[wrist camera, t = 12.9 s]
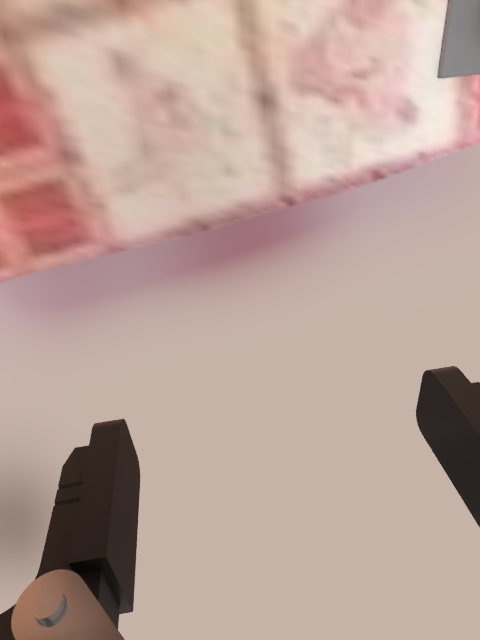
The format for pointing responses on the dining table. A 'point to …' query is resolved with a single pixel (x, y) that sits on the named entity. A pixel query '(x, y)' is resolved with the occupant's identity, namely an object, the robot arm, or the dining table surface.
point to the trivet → (461, 39)
